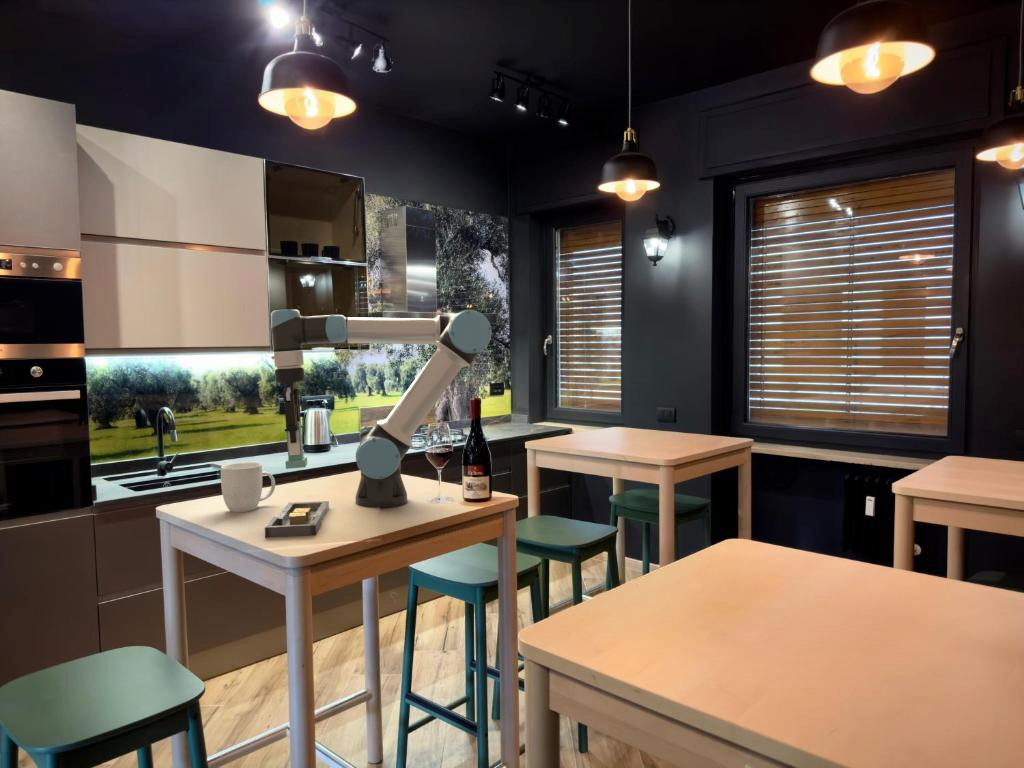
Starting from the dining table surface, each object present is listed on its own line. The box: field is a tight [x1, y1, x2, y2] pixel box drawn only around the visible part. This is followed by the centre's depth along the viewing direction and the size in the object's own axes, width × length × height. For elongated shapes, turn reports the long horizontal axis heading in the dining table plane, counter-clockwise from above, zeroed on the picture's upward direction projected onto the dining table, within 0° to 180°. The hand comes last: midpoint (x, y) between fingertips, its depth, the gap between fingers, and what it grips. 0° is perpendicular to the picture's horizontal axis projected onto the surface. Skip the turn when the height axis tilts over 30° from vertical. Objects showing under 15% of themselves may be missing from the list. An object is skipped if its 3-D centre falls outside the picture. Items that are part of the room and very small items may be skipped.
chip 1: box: [289, 512, 306, 525], centre depth 180 cm, size 4×4×2 cm
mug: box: [220, 461, 276, 513], centre depth 198 cm, size 15×11×13 cm
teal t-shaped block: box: [284, 421, 308, 470], centre depth 187 cm, size 5×5×12 cm
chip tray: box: [264, 515, 323, 539], centre depth 173 cm, size 12×10×3 cm
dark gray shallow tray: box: [277, 500, 330, 526], centre depth 187 cm, size 11×18×2 cm, turn 7°
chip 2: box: [293, 508, 311, 521], centre depth 185 cm, size 4×4×2 cm
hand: (296, 453), depth 187 cm, fingers closed on teal t-shaped block, 3 cm apart
